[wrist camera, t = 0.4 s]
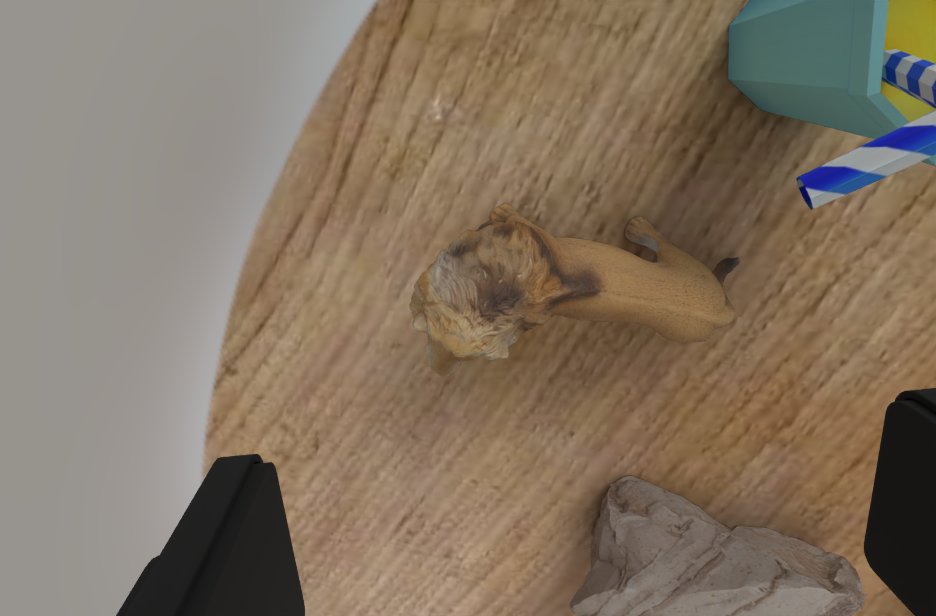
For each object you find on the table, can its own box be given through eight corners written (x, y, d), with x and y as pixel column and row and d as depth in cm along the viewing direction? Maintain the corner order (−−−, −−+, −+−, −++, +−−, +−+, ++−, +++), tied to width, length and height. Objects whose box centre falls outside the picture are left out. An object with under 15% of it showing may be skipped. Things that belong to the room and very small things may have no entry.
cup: (653, 220, 28) (883, 355, 14) (576, 59, 25) (760, 19, 11) (951, 53, 26) (1565, 10, 12) (900, -137, 24) (1593, -472, 10)
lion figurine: (415, 314, 29) (409, 409, 20) (412, 199, 27) (403, 250, 18) (725, 308, 29) (844, 396, 21) (741, 196, 28) (878, 242, 19)
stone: (507, 555, 34) (618, 748, 30) (537, 517, 26) (689, 768, 22) (708, 431, 39) (827, 581, 35) (780, 369, 31) (942, 552, 27)
